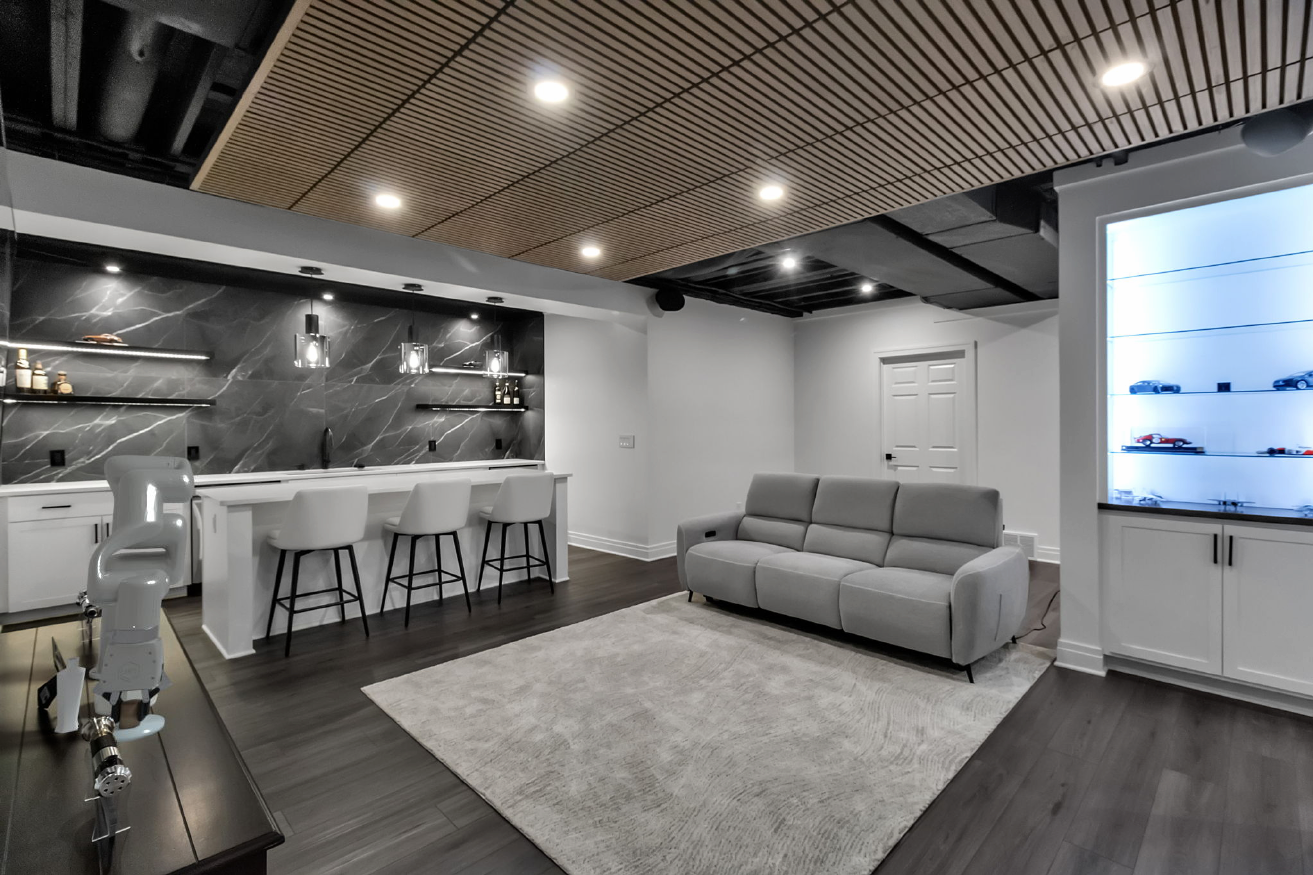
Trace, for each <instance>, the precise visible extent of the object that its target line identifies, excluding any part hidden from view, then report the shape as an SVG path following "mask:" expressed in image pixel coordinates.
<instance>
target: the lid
mask: <svg viewBox="0 0 1313 875" xmlns="http://www.w3.org/2000/svg"><path fill="white" fill-rule="evenodd" d="M140 702H141V699H132V700H127V701H124V702H122V703H121V704H120V717H119V722H118V723H117V724H115V729H114V733H113V735H114V736H115V738H116V740H117V743H116V744H118V743H119V744H121V743H126V742H132V741H137V740H141V739H143V738H147V737H149V736H152V735H154V734H156V733H158V732H159V731H161V730H162V729H164V726H165V718H164V716H162V715H158V714H152V713H151V714H150V713H149V715H148V716H146V717H145V718H144V720H143V721H141V722H139V721H138V710H139V703H140Z"/></svg>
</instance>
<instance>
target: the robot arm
mask: <svg viewBox="0 0 1313 875" xmlns="http://www.w3.org/2000/svg"><path fill="white" fill-rule="evenodd" d="M103 472H104V477H105V480H106V482H107V484H108V486H109V487H110V489H111V492H112V495H113V512H112V522H111V523H112V524H111V533H110V534H109V536H107V537H106V538H105V539H103V541H101V542H100V544H99V545H98V546H97V547H96V548H95V550H94V551H93V553H92V555H91V557H90V559H89V563H88V568H87V569H88V571H87V579H86V580H87V581H86V598H87V601H88V602H89V604H90V605H92V606H94V607H96V608H97V607H98V608H100V607H101V620H100V631H99V645H98V656H97V657H98V658H97V666H95V667H93V668H91V669H90V670H89V672H88V676H89V678H90V679H93V680H94V679H95V680H98V681H97V682H96V684H95V685H94V687H93V688H92V689H91V692H92V693H93V694H94V695H95V694H97V695H100V696H102V697H103V698H104V699H106V700H107V701H108V702H109V704H110V705H112V708H111V716H110V720H114V722H115V724H117V723H118V722H119V717H120V704H121V703H122V702H124V701H123V700H122V698H121V696H122V693H123V691H134V690H141V693H142V699H141V702H140V703H139V710H138V721H139V722H141V721H143V720H144V718H145V717H146V716H148V715H149V714H150V712H151V711H150V710H151V707H150V700H151V698H153V697H154V696H155V695H156V694H157V693H158V694H159V693H160V692H162V691H163V690H165V689H168V688H169V687H170V686H171V685H172V683H173V682H172V681H171V679H170V677H169V676H168V675H167V673H166V672H165V648H164V642H163V639H162V637H160V636H159V635H160V632H159V631H160V626H161V625H160V623H161V621H160V620H161V611H162V600H163V599H164V597H165V596H166V595H168V594H169V591H170V586H173V585H174V586H175V585H176V584H178V583H180V581H181V580H182V578H183V575H184V570H185V563H186V562H185V560H186V551H187V541H188V540H187V539H188V522H187V520H186V518H185V516H183V514H180V513H174V512H164V504H185V503H188V502H190V501H191V499H192V498H193V496H194V493H195V492H194V491H195V477H194V472H193V468H192V465H191V463H190V461H189V460H188V459H187V458H185V457H180V456H161V455H141V454H140V455H139V454H138V455H137V454H121V455H114V456H111V457H108V458H107V459H106V460H105V462H104V465H103ZM151 549H152V550H153V549H163V550H161V551H133V552H120V553H117V552H119V551H121V550H151ZM157 685H158V686H157ZM154 687H155V688H154ZM153 688H154V689H153Z"/></svg>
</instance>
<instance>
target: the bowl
mask: <svg viewBox="0 0 1313 875" xmlns="http://www.w3.org/2000/svg"><path fill="white" fill-rule="evenodd" d="M157 686H159V684H158V685H157ZM154 688H155V687H154ZM154 688H153V689H154ZM158 694H159V692H158V693H157V694H156V695H155V696H154V697H153V698H151V700H150V708H151V707H152V706H154V705H156V703H157V698H158ZM121 698H122V700H123V701H127V700H132V699H142V693H141V690H134V691H123V693H122V696H121ZM93 702H94V704H93V705H94V706H93V707H94V713H95V714H96V715H100V716H104V717H105V716H106V717H107V716H109V717H111V708H112V705H110V704H109V702H108V701H107V700H106V699H104V698H103V697H102V696H100V695H97V694H95V693H94V701H93Z"/></svg>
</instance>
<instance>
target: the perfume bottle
mask: <svg viewBox="0 0 1313 875" xmlns="http://www.w3.org/2000/svg"><path fill="white" fill-rule="evenodd" d="M80 658H81V657H80V656H72V657H68V658H66V659H65V660H66V668H64V669H62V670H60V671H58V672H56V696H57V697H56V699H57V700H56V701H57V702H56V704H57V705H56V706H57V712H56V713H57V717H56V718H57V724H56V727H55V728H54V729H55V730H54V733H58V734H65V733H69V732H74V731H78V728H79V727H78V725H79V721H78V717H79V710H80V705H81V699H82V692H83V686H84V681H85V675H86V674H85V673H86V668H85V667H81V666H79V661H80ZM79 726H80V725H79Z"/></svg>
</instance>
